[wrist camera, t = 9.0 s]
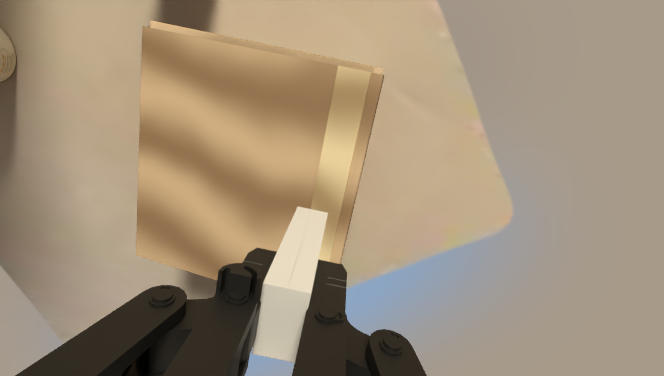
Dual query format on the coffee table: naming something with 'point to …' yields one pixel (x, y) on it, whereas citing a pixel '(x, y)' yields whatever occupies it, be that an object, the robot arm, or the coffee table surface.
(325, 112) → the lid
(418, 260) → the coffee table surface
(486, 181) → the coffee table surface
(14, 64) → the mug
